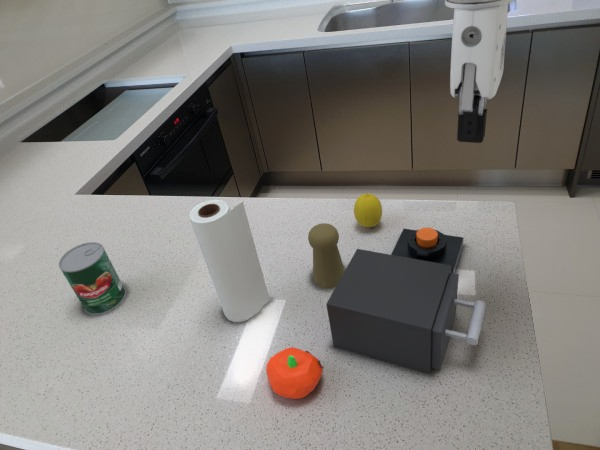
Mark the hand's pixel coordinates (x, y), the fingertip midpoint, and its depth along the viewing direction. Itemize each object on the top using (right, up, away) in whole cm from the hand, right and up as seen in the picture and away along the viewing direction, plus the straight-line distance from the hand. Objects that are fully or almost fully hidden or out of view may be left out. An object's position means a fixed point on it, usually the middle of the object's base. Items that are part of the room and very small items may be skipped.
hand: (470, 139), depth 61 cm
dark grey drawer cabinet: (-8, -27, +11) cm, 31 cm away
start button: (0, -14, +21) cm, 25 cm away
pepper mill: (-17, -21, +23) cm, 35 cm away
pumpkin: (-23, -34, +6) cm, 42 cm away
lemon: (-8, -12, +33) cm, 36 cm away
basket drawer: (-5, -27, +9) cm, 29 cm away
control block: (+1, -17, +23) cm, 29 cm away
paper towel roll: (-32, -26, +19) cm, 46 cm away
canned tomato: (-60, -26, +27) cm, 70 cm away
